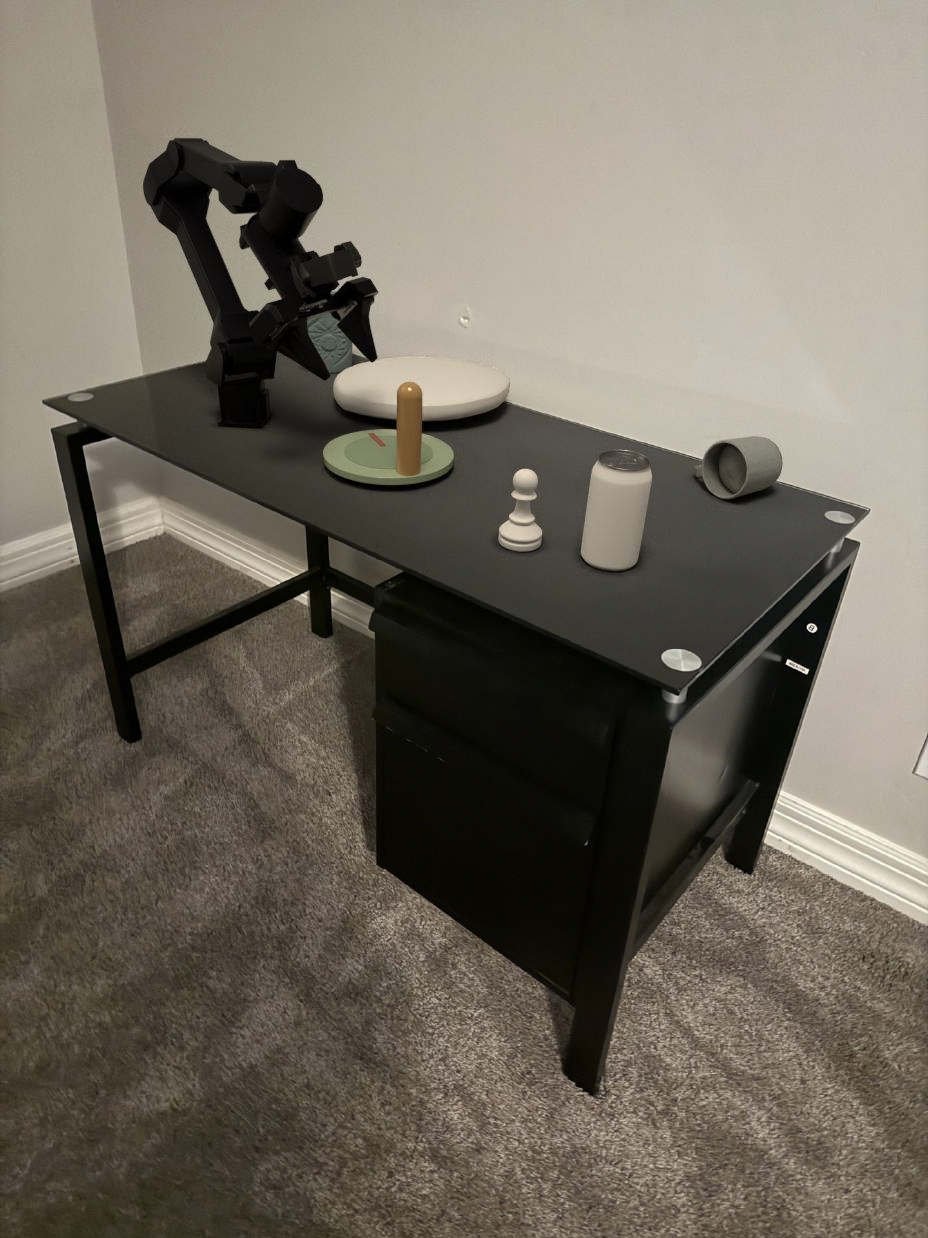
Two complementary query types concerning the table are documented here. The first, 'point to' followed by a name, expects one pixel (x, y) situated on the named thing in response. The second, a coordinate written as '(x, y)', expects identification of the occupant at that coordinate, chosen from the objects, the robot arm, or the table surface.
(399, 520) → the table surface
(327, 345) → the teal embossed cup
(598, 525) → the can
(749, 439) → the ceramic mug
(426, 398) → the white round disc
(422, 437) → the green disc with post
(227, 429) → the table surface
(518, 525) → the chess pawn
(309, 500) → the table surface
